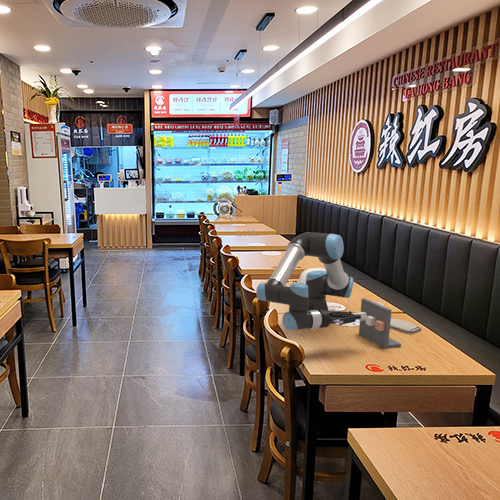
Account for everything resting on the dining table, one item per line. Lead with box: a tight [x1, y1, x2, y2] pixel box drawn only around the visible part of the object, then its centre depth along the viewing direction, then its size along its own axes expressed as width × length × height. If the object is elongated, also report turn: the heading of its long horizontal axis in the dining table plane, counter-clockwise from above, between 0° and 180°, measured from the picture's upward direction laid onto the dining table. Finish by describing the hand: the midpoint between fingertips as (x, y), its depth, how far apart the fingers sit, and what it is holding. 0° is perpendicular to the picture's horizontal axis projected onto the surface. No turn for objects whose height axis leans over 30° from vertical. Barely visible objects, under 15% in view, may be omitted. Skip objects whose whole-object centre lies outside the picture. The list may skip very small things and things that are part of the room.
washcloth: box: [390, 317, 422, 335], centre depth 227 cm, size 12×18×3 cm, turn 41°
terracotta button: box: [375, 320, 385, 331], centre depth 198 cm, size 4×4×4 cm
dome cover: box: [296, 267, 326, 284], centre depth 306 cm, size 32×30×14 cm
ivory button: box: [366, 316, 376, 326], centre depth 205 cm, size 4×4×4 cm
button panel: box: [358, 298, 402, 350], centre depth 207 cm, size 20×9×18 cm, turn 20°
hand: (365, 315), depth 194 cm, fingers closed
